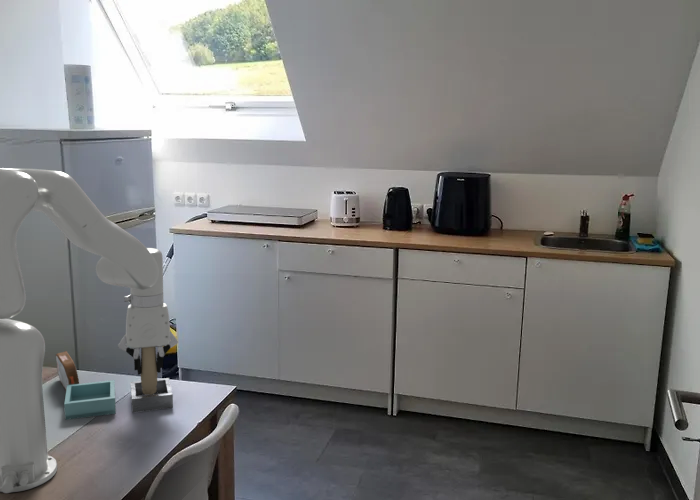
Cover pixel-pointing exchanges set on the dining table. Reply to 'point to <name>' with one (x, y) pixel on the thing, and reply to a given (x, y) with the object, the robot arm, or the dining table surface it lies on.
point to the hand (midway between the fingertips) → (149, 370)
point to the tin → (66, 369)
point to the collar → (152, 397)
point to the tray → (90, 399)
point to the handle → (148, 370)
